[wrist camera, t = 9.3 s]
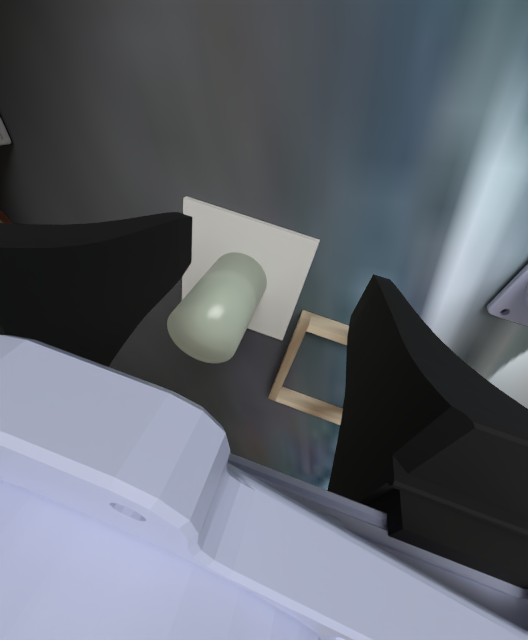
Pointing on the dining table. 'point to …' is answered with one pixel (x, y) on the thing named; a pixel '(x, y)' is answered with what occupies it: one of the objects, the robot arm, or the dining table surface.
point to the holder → (282, 394)
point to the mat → (262, 245)
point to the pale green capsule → (218, 308)
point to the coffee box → (4, 134)
